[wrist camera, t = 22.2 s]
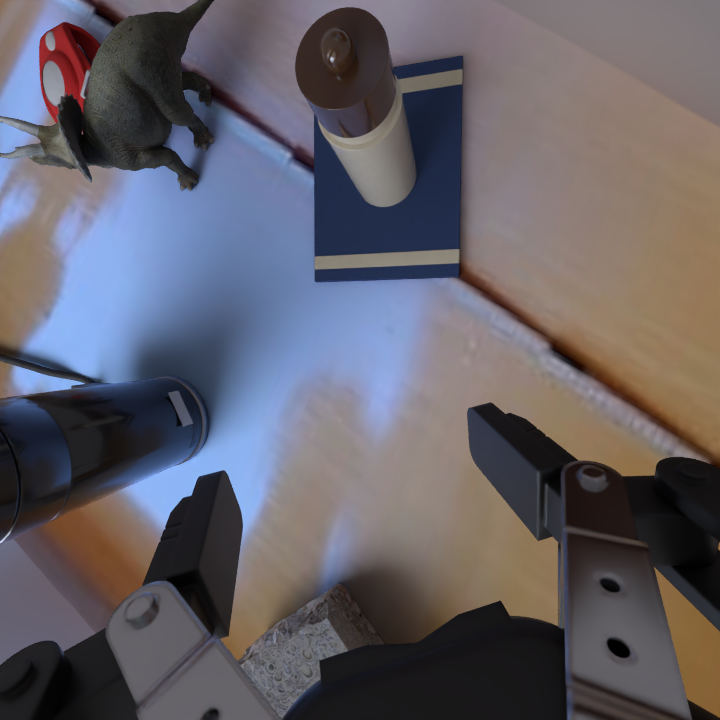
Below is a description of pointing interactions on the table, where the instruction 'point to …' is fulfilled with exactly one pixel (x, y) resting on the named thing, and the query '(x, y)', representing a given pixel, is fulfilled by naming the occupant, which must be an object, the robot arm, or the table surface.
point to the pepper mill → (358, 102)
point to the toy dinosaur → (128, 102)
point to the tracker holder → (65, 64)
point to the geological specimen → (306, 646)
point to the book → (414, 213)
